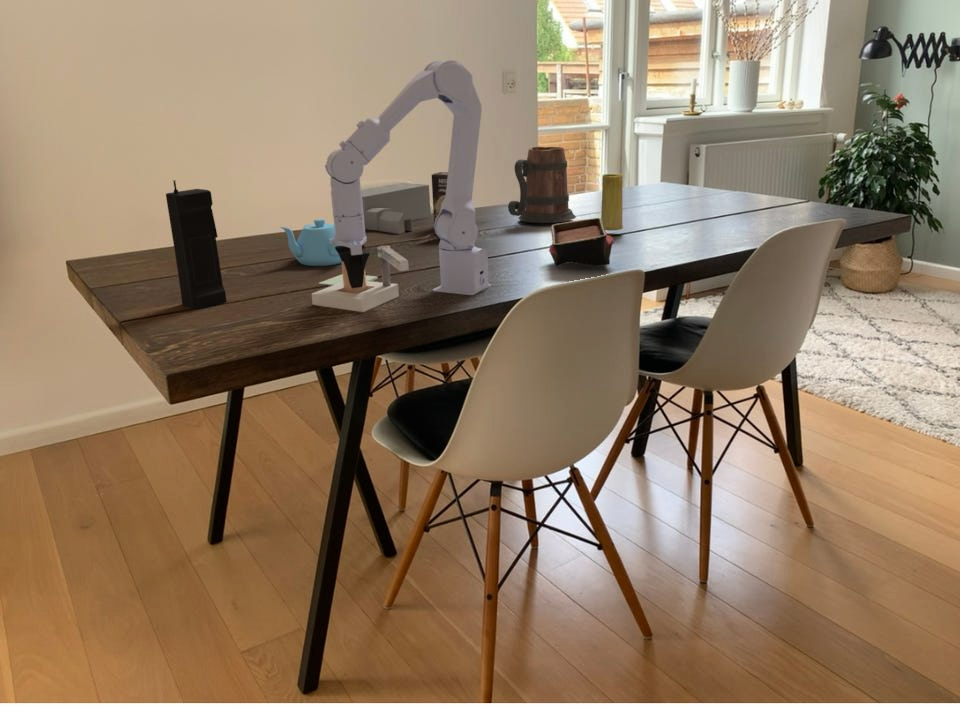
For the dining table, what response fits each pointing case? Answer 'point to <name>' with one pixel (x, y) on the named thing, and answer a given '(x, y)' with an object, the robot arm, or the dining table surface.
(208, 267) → the portable radio
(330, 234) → the teapot
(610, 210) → the vase
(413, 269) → the dining table surface
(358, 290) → the plug
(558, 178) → the tankard
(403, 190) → the grey stepped box
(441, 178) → the coffee box
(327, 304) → the socket block
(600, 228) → the rectangular planter pot
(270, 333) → the dining table surface
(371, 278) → the mat
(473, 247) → the robot arm
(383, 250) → the grey long bar
